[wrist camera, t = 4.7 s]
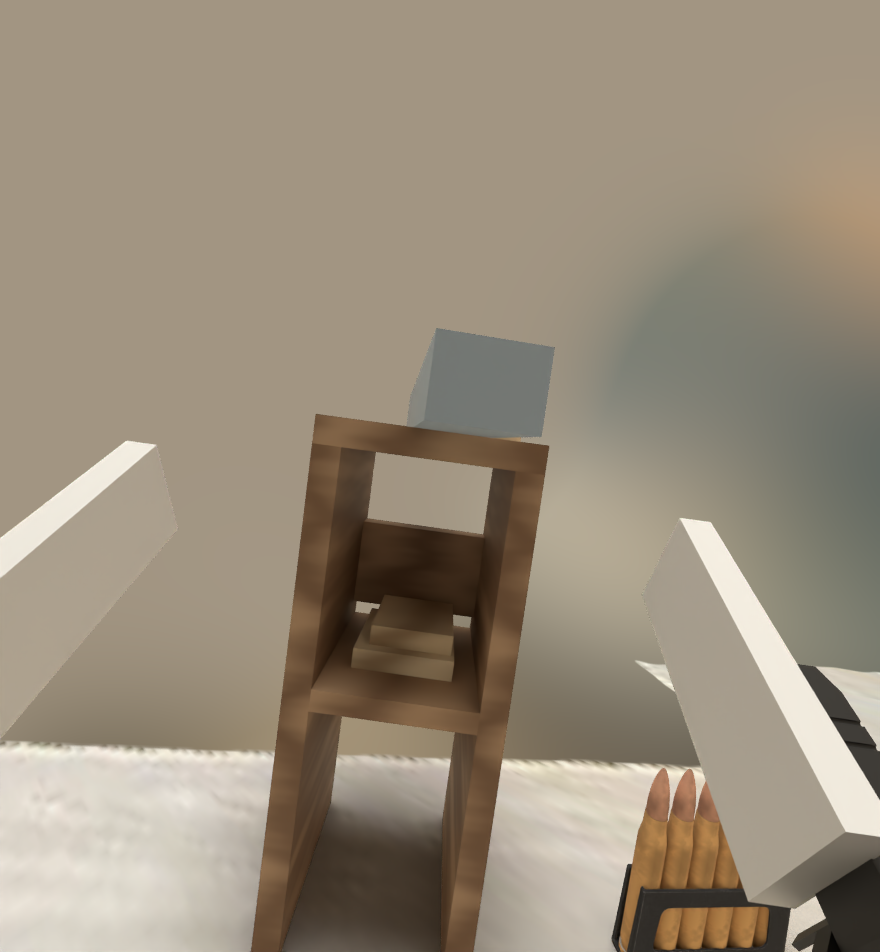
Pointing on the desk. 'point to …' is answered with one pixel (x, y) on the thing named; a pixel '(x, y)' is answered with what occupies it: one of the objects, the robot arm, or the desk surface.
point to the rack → (399, 650)
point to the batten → (482, 386)
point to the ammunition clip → (689, 883)
